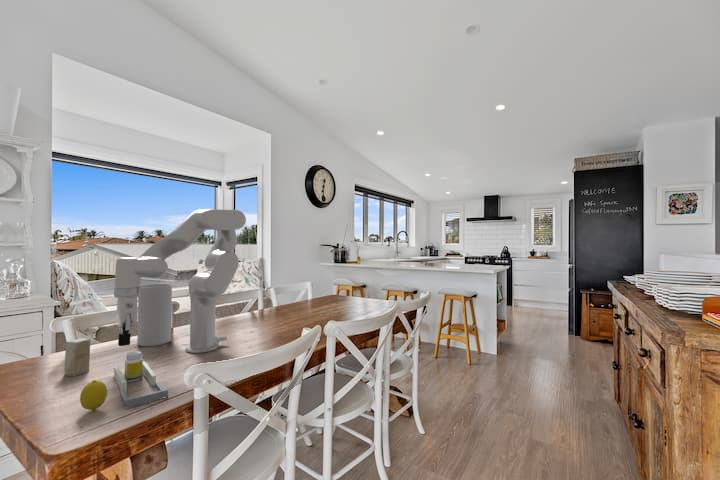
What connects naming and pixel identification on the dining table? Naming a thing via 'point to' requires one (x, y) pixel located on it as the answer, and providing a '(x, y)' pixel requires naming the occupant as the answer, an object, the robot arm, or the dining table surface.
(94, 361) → the dining table surface
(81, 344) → the box
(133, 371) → the supplement bottle
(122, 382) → the chute
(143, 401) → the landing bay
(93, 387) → the lemon
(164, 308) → the cylinder vase
